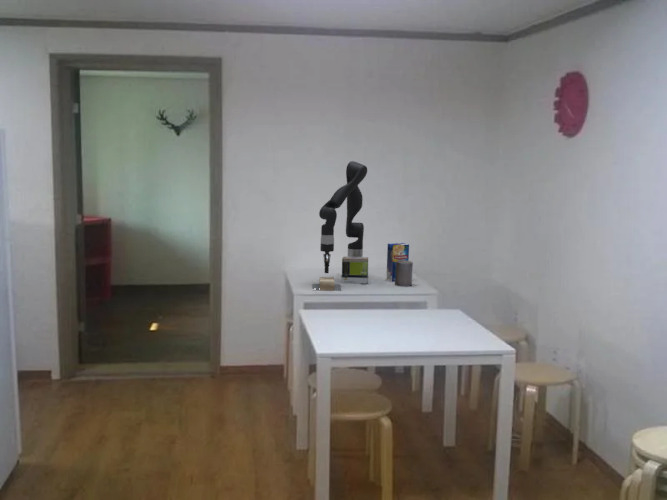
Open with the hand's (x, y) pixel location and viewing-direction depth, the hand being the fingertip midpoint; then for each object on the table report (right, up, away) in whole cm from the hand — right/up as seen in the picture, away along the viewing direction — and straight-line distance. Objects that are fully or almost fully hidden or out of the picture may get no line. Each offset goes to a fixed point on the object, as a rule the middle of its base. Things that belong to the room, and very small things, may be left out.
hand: (326, 273), depth 410 cm
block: (0, -5, -1) cm, 5 cm away
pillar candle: (+45, -7, +10) cm, 46 cm away
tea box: (+16, -6, +15) cm, 23 cm away
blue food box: (+42, -5, +25) cm, 49 cm away
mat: (0, -8, -4) cm, 9 cm away
